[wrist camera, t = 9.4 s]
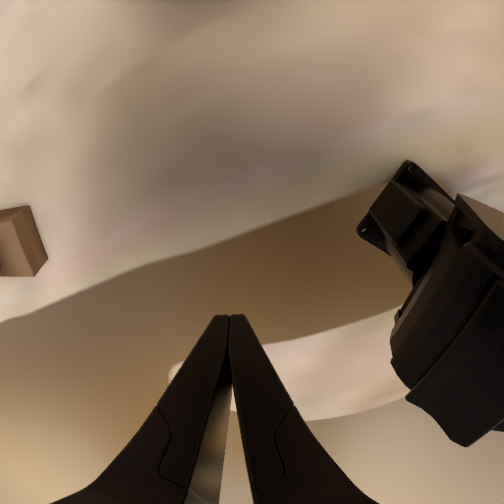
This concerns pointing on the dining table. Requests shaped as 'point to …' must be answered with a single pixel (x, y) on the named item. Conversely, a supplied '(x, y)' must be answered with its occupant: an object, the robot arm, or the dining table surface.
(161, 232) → the dining table surface
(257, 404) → the robot arm
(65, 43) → the dining table surface
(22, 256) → the stand
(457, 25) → the dining table surface
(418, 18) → the dining table surface
